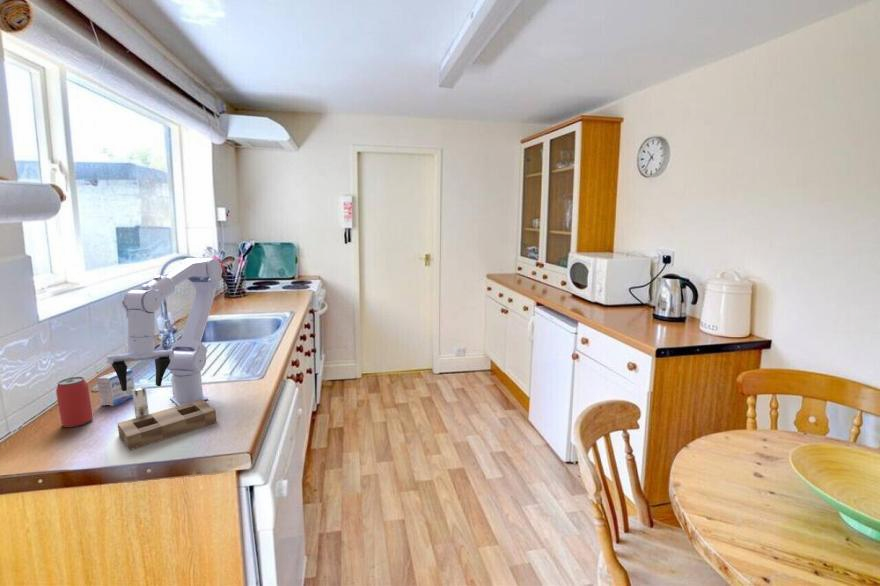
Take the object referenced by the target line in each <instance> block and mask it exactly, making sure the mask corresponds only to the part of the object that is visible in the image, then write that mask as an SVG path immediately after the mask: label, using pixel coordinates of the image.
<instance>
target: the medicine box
mask: <svg viewBox="0 0 880 586" xmlns="http://www.w3.org/2000/svg"><path fill="white" fill-rule="evenodd" d="M133 374H134V373H133V370H132V369H128V368H127V374H126V382H127V391H122V390H121V384H120V381H119V378H118V376H117V374H116V372H115V371H112V372H110V373H107V374H105V375H101V376H100V377H97V378H96V380H97V387H98V393H99V395H98V396H99V400H100V405H101V404H102V405H101V406H105V405H110V406H109V407H115V406H117V405H116V404H118V403H120V404H122V403H123V401H124V402H126V401H128V400H130V399H133V394H132V389H134V388H135V381H134V375H133ZM129 398H130V399H129ZM127 399H128V400H127ZM125 400H126V401H125ZM121 402H122V403H121ZM114 405H115V406H114ZM118 405H119V404H118Z"/></svg>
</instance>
